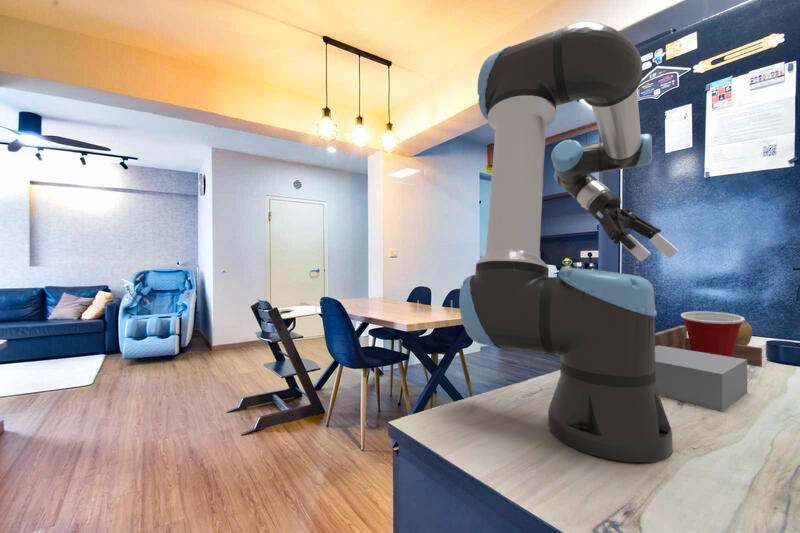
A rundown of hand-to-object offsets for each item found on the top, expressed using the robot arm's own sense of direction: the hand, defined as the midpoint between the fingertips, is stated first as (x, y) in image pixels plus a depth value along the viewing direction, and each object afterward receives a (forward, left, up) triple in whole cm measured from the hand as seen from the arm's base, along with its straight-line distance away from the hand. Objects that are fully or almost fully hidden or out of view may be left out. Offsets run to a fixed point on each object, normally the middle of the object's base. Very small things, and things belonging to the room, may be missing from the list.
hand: (660, 256), depth 87 cm
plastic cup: (+6, -7, -25) cm, 27 cm away
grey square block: (-8, -21, -25) cm, 34 cm away
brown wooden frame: (+5, -6, -25) cm, 26 cm away
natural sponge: (+19, +6, -25) cm, 33 cm away
